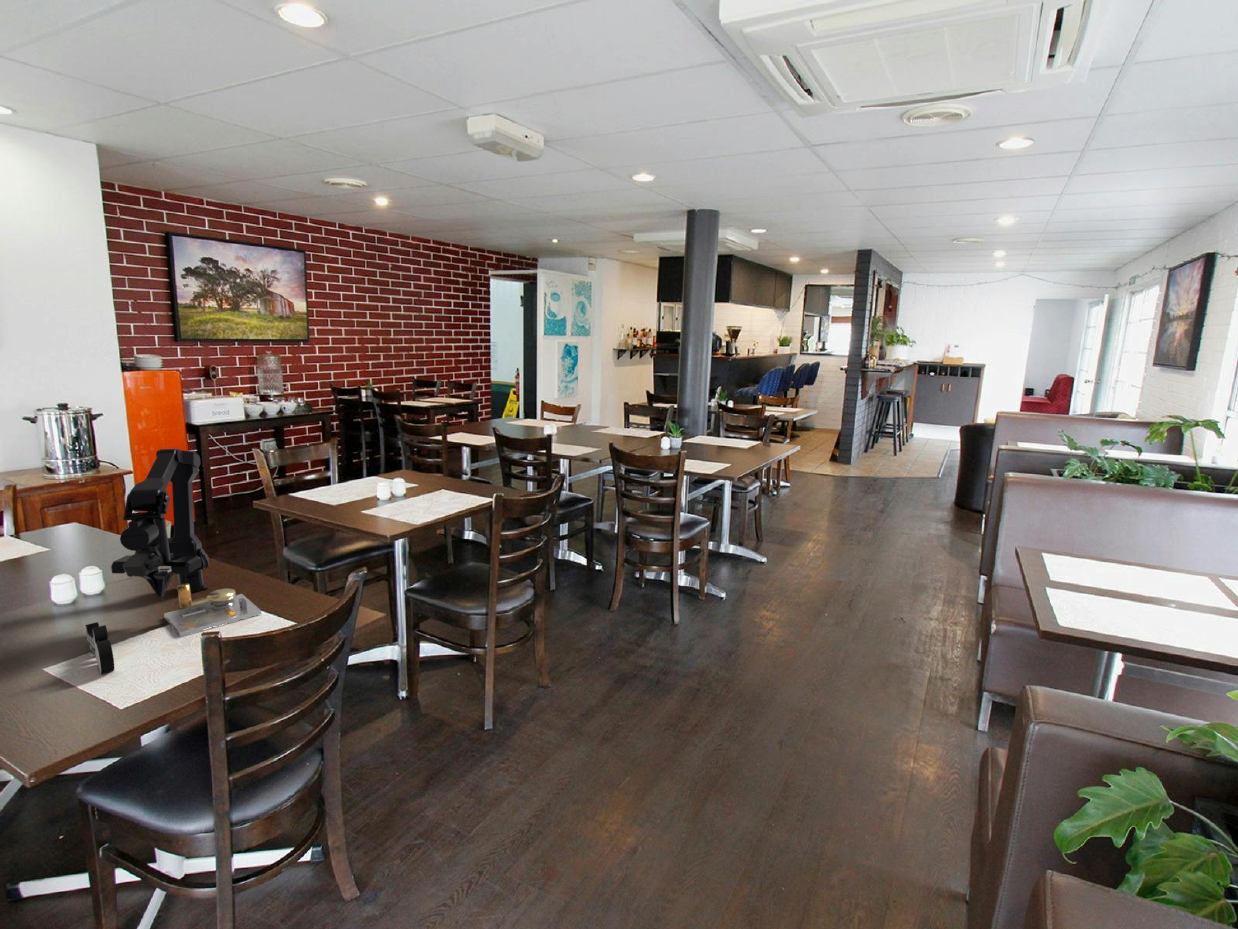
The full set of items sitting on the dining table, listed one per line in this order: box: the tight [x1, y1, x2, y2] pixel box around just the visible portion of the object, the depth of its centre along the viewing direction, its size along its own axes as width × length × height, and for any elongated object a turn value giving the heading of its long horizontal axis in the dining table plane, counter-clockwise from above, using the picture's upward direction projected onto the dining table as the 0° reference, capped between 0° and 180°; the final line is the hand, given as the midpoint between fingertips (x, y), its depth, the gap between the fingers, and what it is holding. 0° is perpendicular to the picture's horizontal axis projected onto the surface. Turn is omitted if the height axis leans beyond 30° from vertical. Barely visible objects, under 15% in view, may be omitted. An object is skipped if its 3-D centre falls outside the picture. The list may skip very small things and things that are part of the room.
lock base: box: [163, 593, 262, 638], centre depth 165 cm, size 15×18×4 cm
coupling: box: [176, 583, 237, 609], centre depth 166 cm, size 12×6×6 cm, turn 137°
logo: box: [85, 621, 115, 675], centre depth 143 cm, size 21×2×10 cm, turn 45°
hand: (161, 596), depth 161 cm, fingers closed
